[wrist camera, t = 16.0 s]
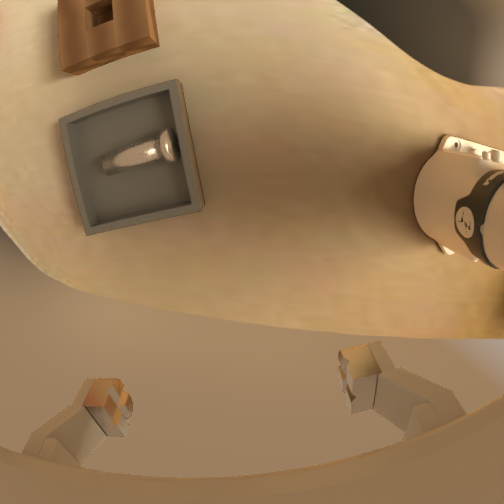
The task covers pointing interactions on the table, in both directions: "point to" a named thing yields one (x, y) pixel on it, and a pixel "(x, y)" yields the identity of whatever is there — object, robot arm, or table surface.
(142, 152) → the pin
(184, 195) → the tray
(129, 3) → the block
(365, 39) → the table surface
